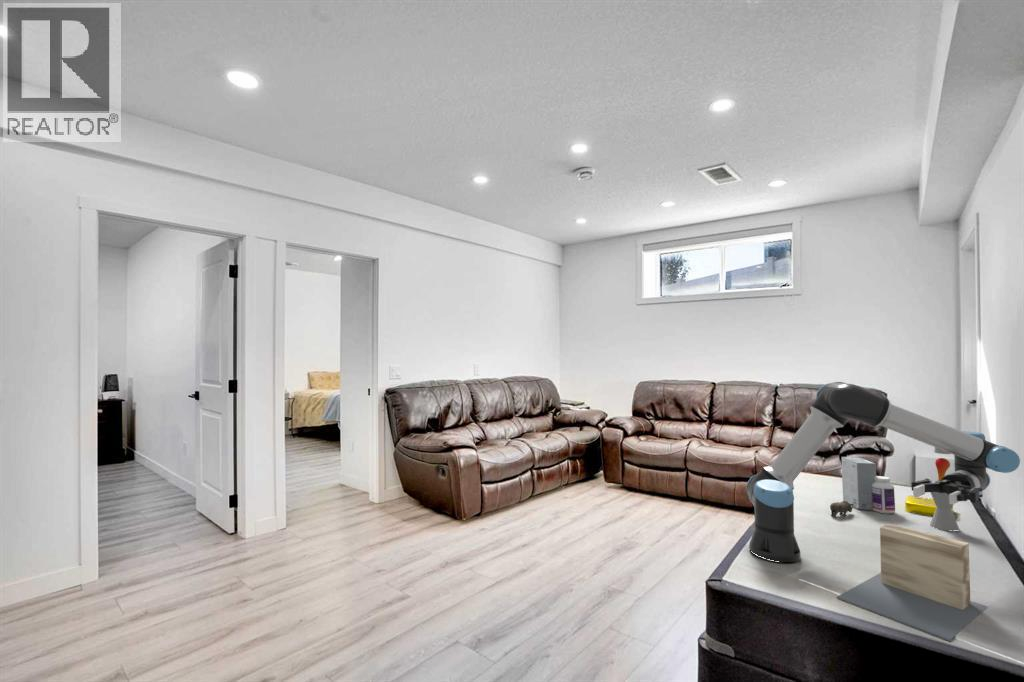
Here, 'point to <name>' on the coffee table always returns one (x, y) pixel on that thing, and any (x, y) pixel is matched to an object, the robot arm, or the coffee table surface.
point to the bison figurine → (840, 508)
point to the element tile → (921, 505)
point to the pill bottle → (883, 495)
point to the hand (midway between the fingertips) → (932, 495)
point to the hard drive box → (858, 481)
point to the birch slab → (926, 565)
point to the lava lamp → (942, 499)
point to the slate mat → (912, 608)
